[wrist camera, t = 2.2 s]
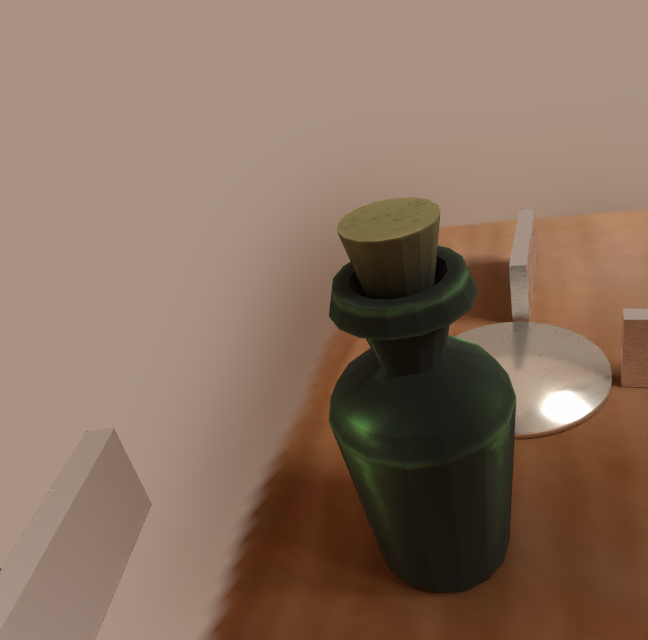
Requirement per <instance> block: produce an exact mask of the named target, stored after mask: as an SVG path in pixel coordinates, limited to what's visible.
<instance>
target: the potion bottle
mask: <svg viewBox="0 0 648 640" xmlns="http://www.w3.org/2000/svg"><path fill="white" fill-rule="evenodd" d="M439 222H440V210H439V206H438V205H437V204H435V203H433V202H431V201H430V200H426V199H420V198H394V199H389V200H384V201H378V202H375V203H372V204H369V205H366V206H363V207H360V208H358V209H356V210H354V211H353V212H351V213H349V214H347V215H345V217H344V218H343V219H342V220H341V221H340V222H339V223H338V227H337V232H338V235H339V237H340V239H341V241H342V243H343V246H344V248H345V250H346V252H347V254H348V257H349V259H350V261H351V262H350V263H348V264H346V265H345V266H343V267H342V269H341V270H340V271H339V272H338V273H337V274H336V276H335V277H334V278H333V284H332V293H331V303H330V312H329V317H330V318H331V320H332V321H333V322H334V323H335V325H336V326H337V327H338V329H340V330H342V331H345V332H347V333H349V334H352V335H354V336H357V337H359V338H366V340H367V341H368V343H369V345H370V347H371V348H370V349H368V350H367V351H365V352H364V353H363V354H361V355H360V356H359V357H357V358H356V359H354V360H353V361H352V362H350V363H349V364H348V366H347V367H346V369H345V370H344V372H343V373H342V375H341V376H340V378H339V379H338V381H337V383H336V385H335V388H334V391H333V393H332V396H331V400H330V413H329V423H330V425H331V428H332V430H333V433H334V435H335V438H336V440H337V443H338V445H339V448H340V450H341V453H342V455H343V458H344V460H345V463H346V465H347V468H348V470H349V473H350V475H351V478H352V480H353V483H354V485H355V488H356V490H357V493H358V495H359V498H360V500H361V503H362V505H363V508H364V510H365V513H366V515H367V518H368V520H369V523H370V525H371V528H372V530H373V532H374V535H375V537H376V540H377V542H378V545H379V547H380V550H381V552H382V554H383V556H384V558H385V560H386V561H387V563H388V565H389V567H390V569H391V571H393V572H394V573H395V574H396V575H398V576H399V577H400V578H402V579H403V580H404V581H406V582H407V583H408V584H409V585H411V586H414V587H418V588H421V589H425V590H428V591H432V592H435V593H442V592H454V591H465V590H467V589H469V588H471V587H473V586H475V585H477V584H479V583H481V582H483V581H485V580H488V579H489V578H490V577H491V575H492V574H493V573H494V572H495V571H496V570H497V568H498V567H499V566H500V565H501V564H502V563H503V561H504V559H505V555H506V551H507V547H508V543H509V538H510V517H511V497H512V477H513V457H514V436H515V416H516V395H515V392H514V389H513V386H512V383H511V380H510V377H509V374H508V373H507V372H506V371H505V370H504V368H503V367H502V366H501V365H500V364H499V363H498V361H497V360H496V359H495V358H493V357H492V356H491V355H490V354H489V353H488V352H486V351H485V350H484V349H483V348H482V347H481V346H479V345H478V344H475V343H472V342H469V341H467V340H464V339H461V338H458V337H455V336H448V331H449V326H450V324H452V323H453V322H455V321H456V320H457V319H458V318H460V317H461V316H462V315H464V314H465V313H466V312H467V311H469V310H470V309H471V307H472V305H473V303H474V301H475V299H476V297H477V295H478V290H477V287H476V284H475V281H474V278H473V276H472V275H471V273H470V271H469V269H468V267H467V265H466V263H465V261H464V259H463V257H462V256H461V255H459V254H458V253H456V252H454V251H453V250H451V249H450V248H446V247H442V246H438V234H439Z"/></svg>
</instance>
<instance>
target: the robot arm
mask: <svg viewBox="0 0 648 640" xmlns="http://www.w3.org/2000/svg"><path fill="white" fill-rule="evenodd" d="M150 507H151V502H150V500H149V498H148V496H147V494H146V492H145V490H144V488H143V486H142V484H141V482H140V480H139V478H138V476H137V474H136V472H135V470H134V468H133V466H132V464H131V462H130V460H129V458H128V456H127V454H126V452H125V450H124V448H123V446H122V444H121V442H120V440H119V438H118V436H117V434H116V432H115V430H114V429H106V430H96V431H87V432H86V433H85V434H84V436H83V438H82V439H81V441H80V443H79V444H78V446H77V448H76V449H75V451H74V452H73V454H72V456H71V457H70V459H69V460H68V462H67V464H66V465H65V467H64V469H63V470H62V472H61V473H60V475H59V477H58V478H57V480H56V482H55V483H54V485H53V486H52V488H51V490H50V491H49V493H48V494H47V496H46V498H45V499H44V501H43V503H42V504H41V506H40V507H39V509H38V511H37V512H36V514H35V516H34V517H33V519H32V521H31V522H30V524H29V525H28V527H27V528H26V530H25V532H24V533H23V535H22V537H21V538H20V540H19V541H18V543H17V545H16V546H15V548H14V550H13V551H12V553H11V554H10V556H9V558H8V559H7V561H6V563H5V565H4V566H3V567H2V569H0V640H95V638H96V636H97V634H98V631H99V628H100V626H101V624H102V622H103V619H104V617H105V615H106V612H107V610H108V607H109V605H110V602H111V600H112V597H113V595H114V593H115V591H116V588H117V586H118V583H119V581H120V579H121V576H122V574H123V571H124V569H125V567H126V564H127V562H128V559H129V557H130V555H131V552H132V550H133V547H134V545H135V543H136V540H137V538H138V535H139V533H140V530H141V528H142V526H143V523H144V521H145V519H146V516H147V513H148V511H149V509H150Z"/></svg>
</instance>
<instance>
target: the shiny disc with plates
mask: <svg viewBox="0 0 648 640" xmlns="http://www.w3.org/2000/svg"><path fill="white" fill-rule="evenodd" d="M536 263H537V256H536V231H535V209H523V210H520V211H519V216H518V221H517V226H516V232H515V237H514V242H513V247H512V252H511V258H510V263H509V275H510V290H511V305H512V320H513V322H504V323H496V324H490V325H486V326H481V327H478V328H475V329H471V330H469V331H466V332H464V333H461V334H459V335H457V336H455V337H458V338H461V339H464V340H467V341H469V342H472V343H475V344H478V345H479V346H481V347H482V348H483V349H484V350H485V351H486V352H488V353H489V354H490V355H491V356H492V357H493V358H495V359H496V360H497V361H498V363H499V364H500V365H501V366H502V367H503V368H504V370H505V371H506V372H507V373H508V374H509V377H510V380H511V383H512V386H513V389H514V392H515V395H516V416H515V436H514V439H528V438H537V437H544V436H548V435H553V434H557V433H560V432H563V431H566V430H569V429H571V428H573V427H576V426H578V425H580V424H581V423H583V422H585V421H587V420H588V419H590V418H591V417H592V416H593V415H595V414H596V413H597V412H598V411H599V410H600V409H601V408H602V407H603V405H604V404H605V402H606V401H607V399H608V397H609V394H610V391H611V385H612V371H611V367H610V364H609V361H608V359H607V358H606V356H605V354H604V353H603V352H602V351H601V350H600V349H599V348H598V347H597V346H596V345H595V344H594V343H593V342H591V341H590V340H588V339H587V338H585V337H583V336H581V335H579V334H577V333H575V332H573V331H570V330H568V329H565V328H561V327H558V326H554V325H549V324H543V323H536V322H530V314H531V305H532V297H533V288H534V280H535V272H536ZM620 381H621V386H623V387H648V309H623V317H622V340H621V363H620Z"/></svg>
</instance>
